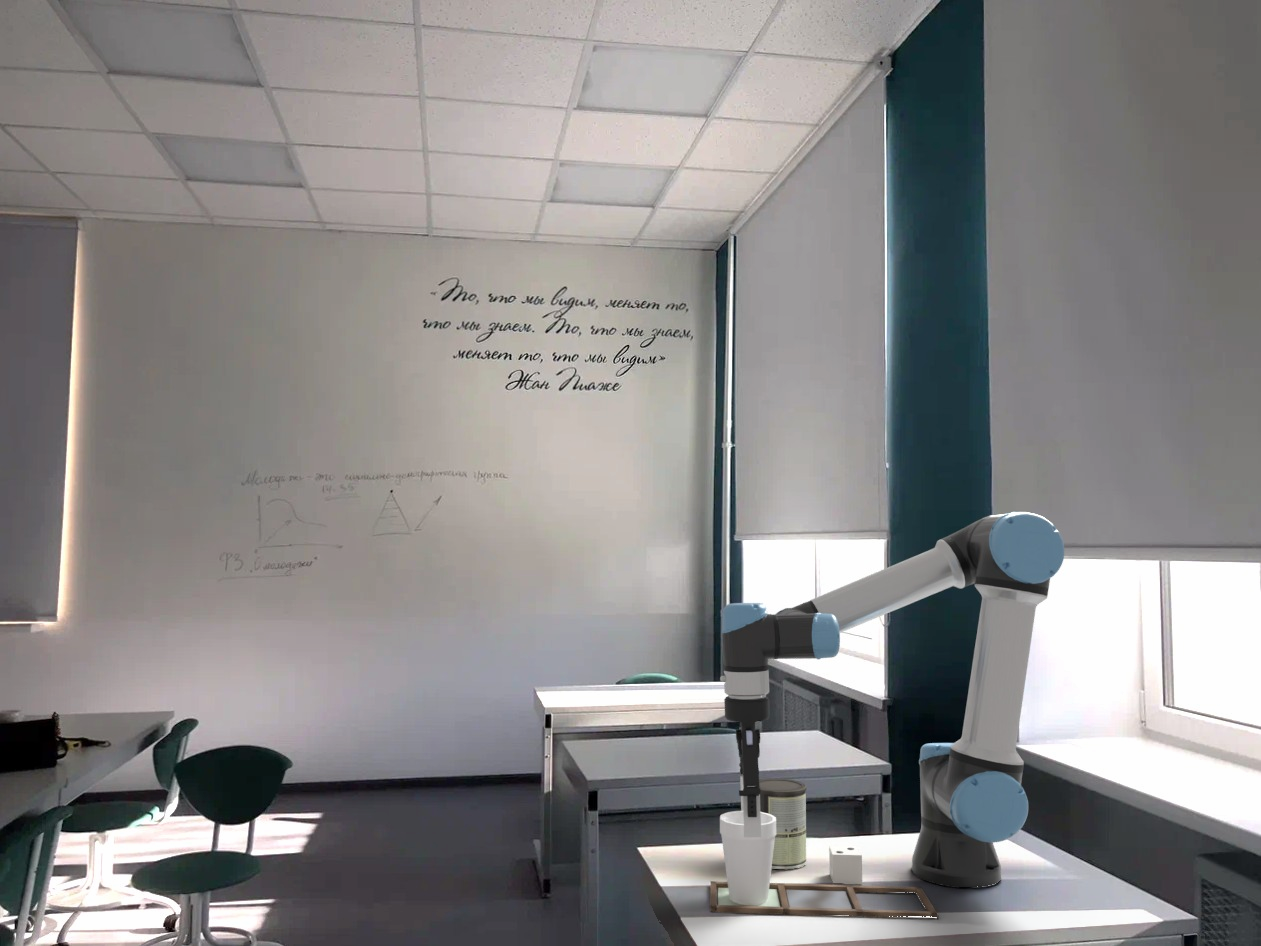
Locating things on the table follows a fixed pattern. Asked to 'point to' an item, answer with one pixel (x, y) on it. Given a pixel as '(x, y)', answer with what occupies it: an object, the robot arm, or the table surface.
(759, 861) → the foam cup
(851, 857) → the white die
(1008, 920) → the table surface
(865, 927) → the table surface
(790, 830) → the coffee can
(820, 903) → the walnut frame
